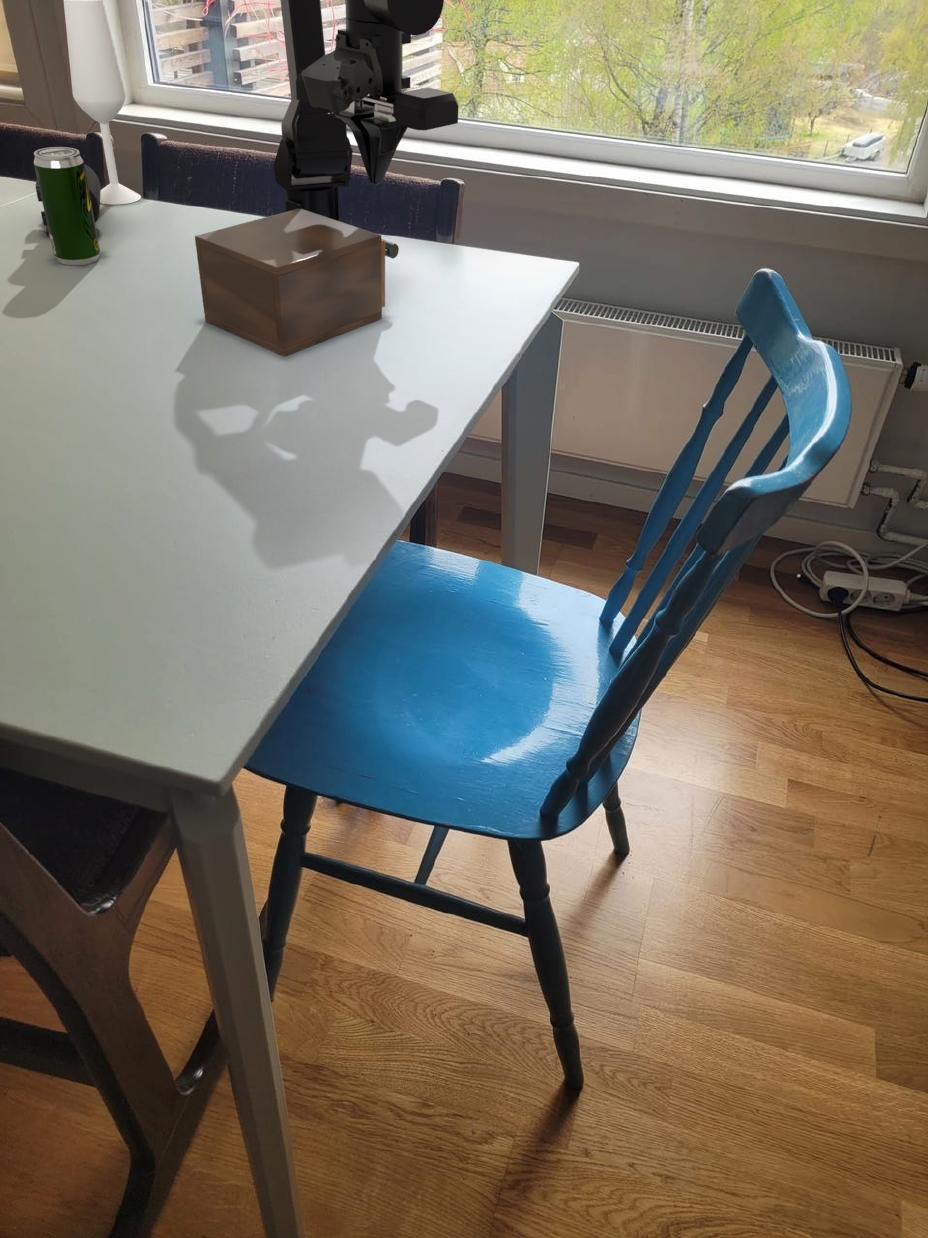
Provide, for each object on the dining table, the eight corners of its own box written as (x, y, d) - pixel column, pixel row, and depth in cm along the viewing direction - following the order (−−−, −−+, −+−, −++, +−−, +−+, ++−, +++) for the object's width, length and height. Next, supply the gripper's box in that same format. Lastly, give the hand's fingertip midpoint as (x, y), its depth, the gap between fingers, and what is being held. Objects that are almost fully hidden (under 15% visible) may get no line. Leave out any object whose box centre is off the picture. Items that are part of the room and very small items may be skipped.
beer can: (62, 268, 114) (38, 160, 107) (49, 254, 118) (26, 148, 110) (107, 262, 117) (87, 155, 109) (93, 248, 120) (73, 144, 112)
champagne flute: (124, 206, 134) (90, 3, 118) (82, 200, 135) (43, -2, 120) (150, 194, 139) (121, -3, 123) (109, 188, 140) (75, -8, 125)
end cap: (104, 236, 124) (94, 180, 120) (46, 238, 122) (33, 181, 118) (105, 212, 131) (95, 159, 127) (50, 214, 129) (38, 160, 125)
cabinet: (304, 288, 113) (299, 207, 108) (382, 318, 107) (381, 235, 102) (205, 321, 104) (194, 235, 99) (284, 356, 98) (277, 267, 93)
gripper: (250, 12, 96) (263, 178, 106) (387, 39, 87) (387, 218, 97) (331, 4, 103) (336, 161, 113) (465, 29, 94) (458, 197, 104)
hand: (375, 183), depth 106 cm, fingers closed
